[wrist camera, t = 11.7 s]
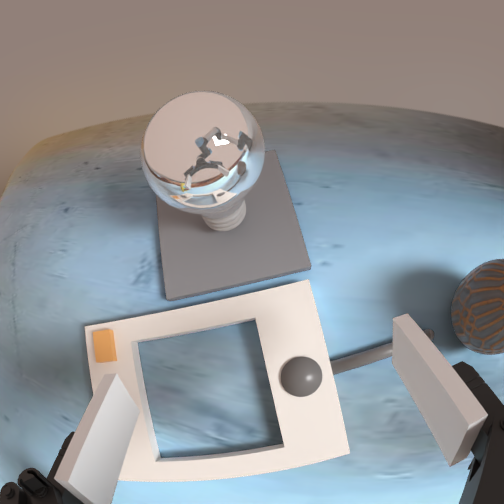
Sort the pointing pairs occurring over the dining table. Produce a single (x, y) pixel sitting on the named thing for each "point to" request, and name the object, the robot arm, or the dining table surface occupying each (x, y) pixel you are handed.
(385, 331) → the dining table surface
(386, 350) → the white square frame
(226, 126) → the light bulb
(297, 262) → the felt pad
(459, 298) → the vase
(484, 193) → the dining table surface
